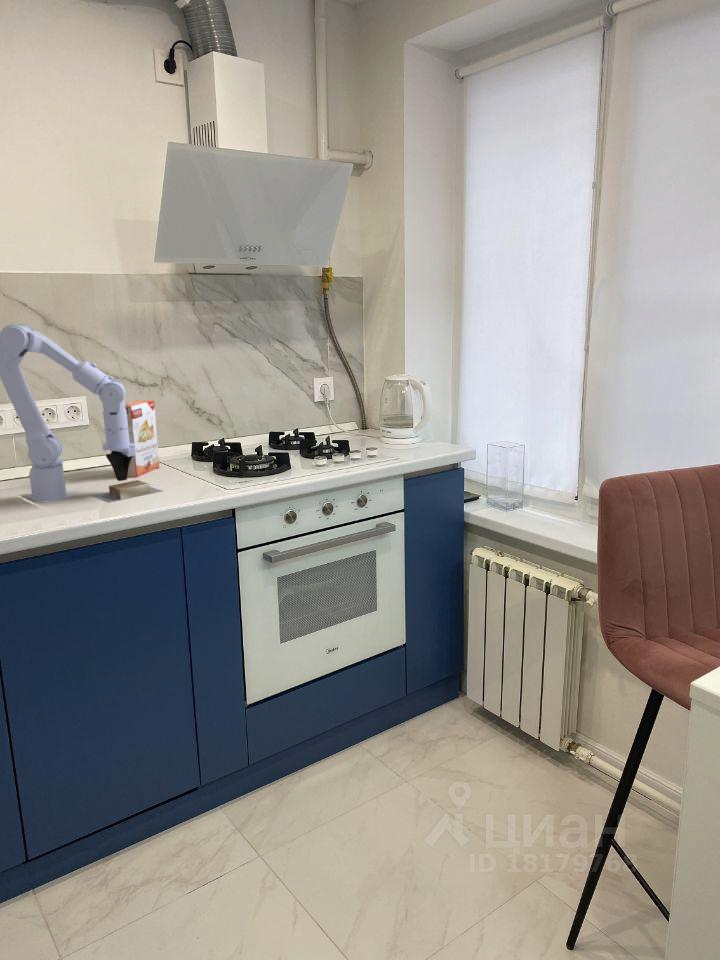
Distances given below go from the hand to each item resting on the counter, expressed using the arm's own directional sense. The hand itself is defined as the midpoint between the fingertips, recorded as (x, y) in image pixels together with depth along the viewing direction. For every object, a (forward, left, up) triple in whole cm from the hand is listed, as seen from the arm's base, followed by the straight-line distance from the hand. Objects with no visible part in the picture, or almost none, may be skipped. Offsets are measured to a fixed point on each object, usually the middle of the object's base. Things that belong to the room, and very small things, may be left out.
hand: (122, 480), depth 188 cm
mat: (+2, 0, -4) cm, 4 cm away
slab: (+1, 0, -2) cm, 2 cm away
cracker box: (-20, +15, -4) cm, 25 cm away
